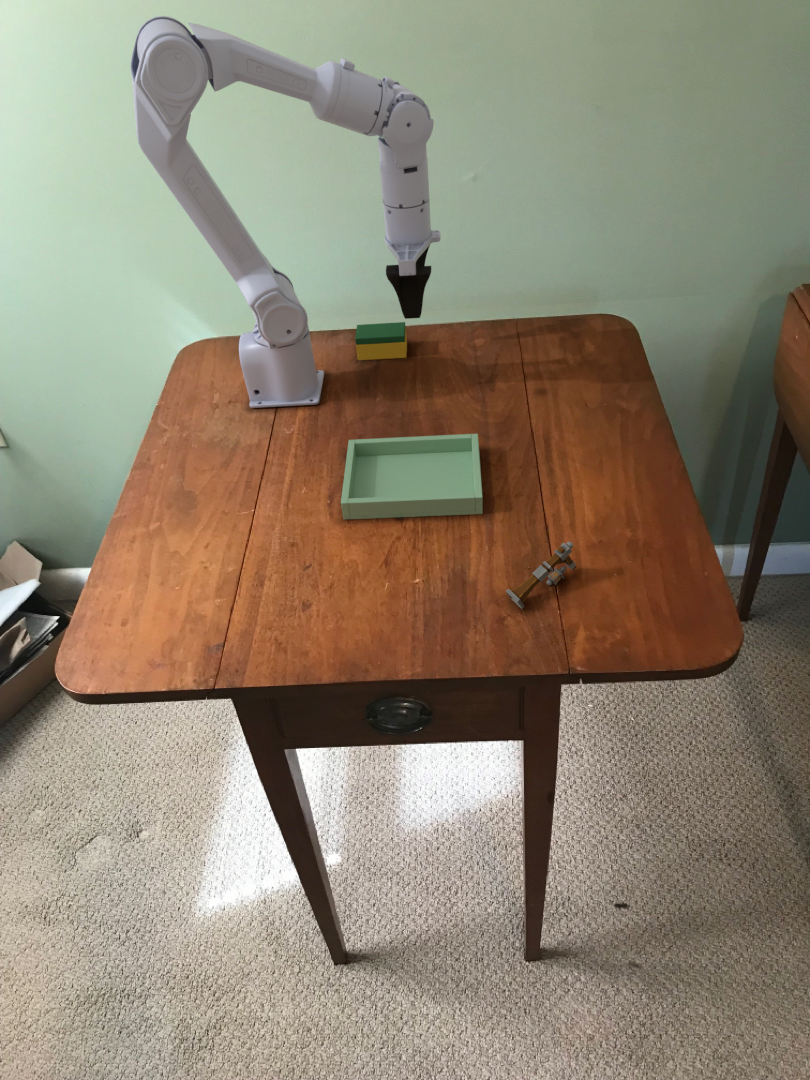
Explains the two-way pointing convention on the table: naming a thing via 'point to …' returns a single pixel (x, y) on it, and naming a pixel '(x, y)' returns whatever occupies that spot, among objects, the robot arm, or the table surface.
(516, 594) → the wooden post with brackets
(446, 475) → the pan
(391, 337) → the sponge
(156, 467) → the table surface
